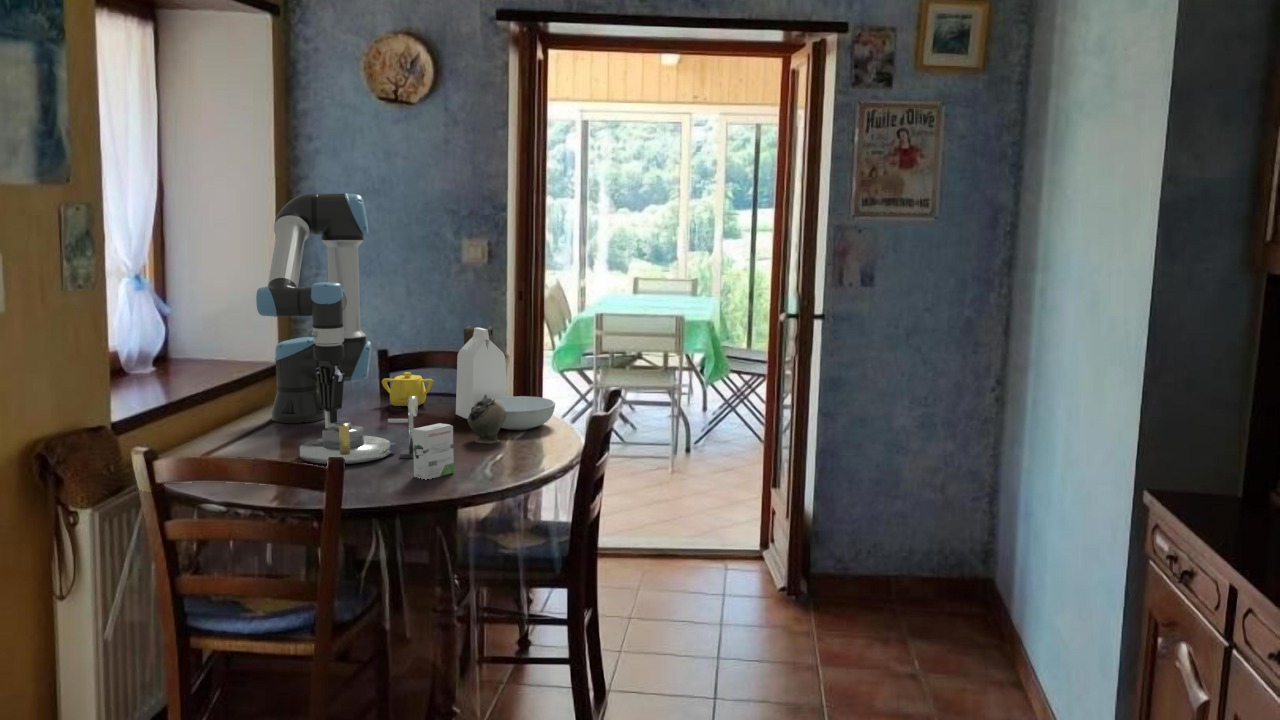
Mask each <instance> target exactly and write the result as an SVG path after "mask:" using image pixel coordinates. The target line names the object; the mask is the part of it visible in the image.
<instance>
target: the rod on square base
mask: <svg viewBox="0 0 1280 720" xmlns="http://www.w3.org/2000/svg"><path fill="white" fill-rule="evenodd" d="M418 408H419V405H418V400H417V396H409V397H408V406H407V414H408V415H407V416H408V418H388V419H387V423H390V424H391V423H392V424H393V423H397V424H399V423H401V424H402V423H404V424H405V423H407V424H408V448H409V449H403V450H401V452H400V454H399V458H400V459H414V456H413V429H415V427H414V417H417V416H418V411H419V410H418Z"/></svg>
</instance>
